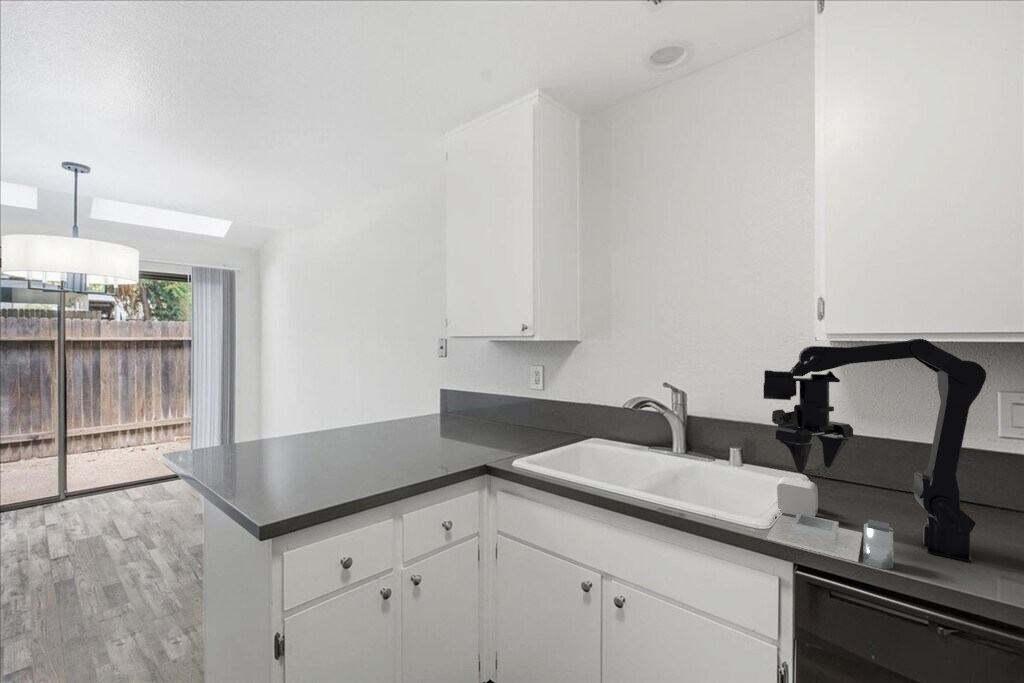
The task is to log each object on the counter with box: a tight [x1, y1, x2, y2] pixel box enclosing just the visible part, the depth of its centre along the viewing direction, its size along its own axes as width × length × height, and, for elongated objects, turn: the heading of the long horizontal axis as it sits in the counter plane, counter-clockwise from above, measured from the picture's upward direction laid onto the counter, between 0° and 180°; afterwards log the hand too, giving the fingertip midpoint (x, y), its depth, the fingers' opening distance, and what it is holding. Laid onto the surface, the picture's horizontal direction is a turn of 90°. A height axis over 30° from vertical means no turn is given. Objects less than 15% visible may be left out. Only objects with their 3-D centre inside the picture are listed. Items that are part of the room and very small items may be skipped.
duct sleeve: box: [862, 519, 895, 570], centre depth 92 cm, size 5×5×8 cm
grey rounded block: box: [776, 476, 819, 517], centre depth 119 cm, size 8×10×10 cm
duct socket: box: [766, 513, 863, 563], centre depth 104 cm, size 16×16×3 cm
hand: (814, 469), depth 107 cm, fingers open, 9 cm apart
